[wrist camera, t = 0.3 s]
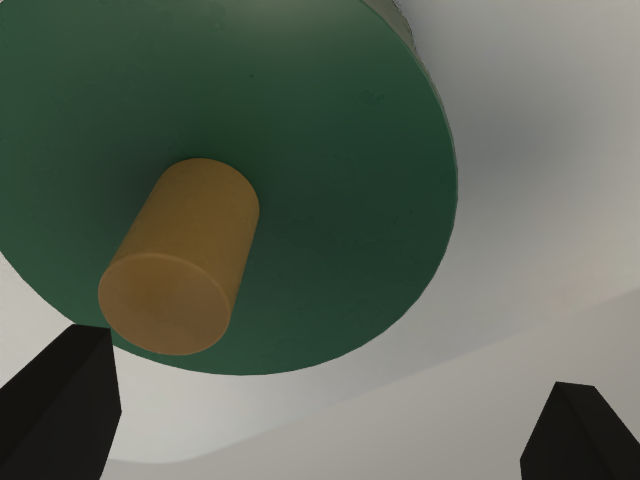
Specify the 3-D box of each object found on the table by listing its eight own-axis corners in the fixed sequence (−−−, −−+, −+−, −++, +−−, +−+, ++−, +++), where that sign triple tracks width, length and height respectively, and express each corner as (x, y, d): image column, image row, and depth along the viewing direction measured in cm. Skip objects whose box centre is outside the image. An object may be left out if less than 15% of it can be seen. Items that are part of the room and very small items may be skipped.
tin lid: (411, 366, 18) (423, 516, 14) (33, 327, 18) (-58, 466, 14) (505, -50, 12) (572, 17, 8) (-81, -104, 12) (-303, -64, 8)
